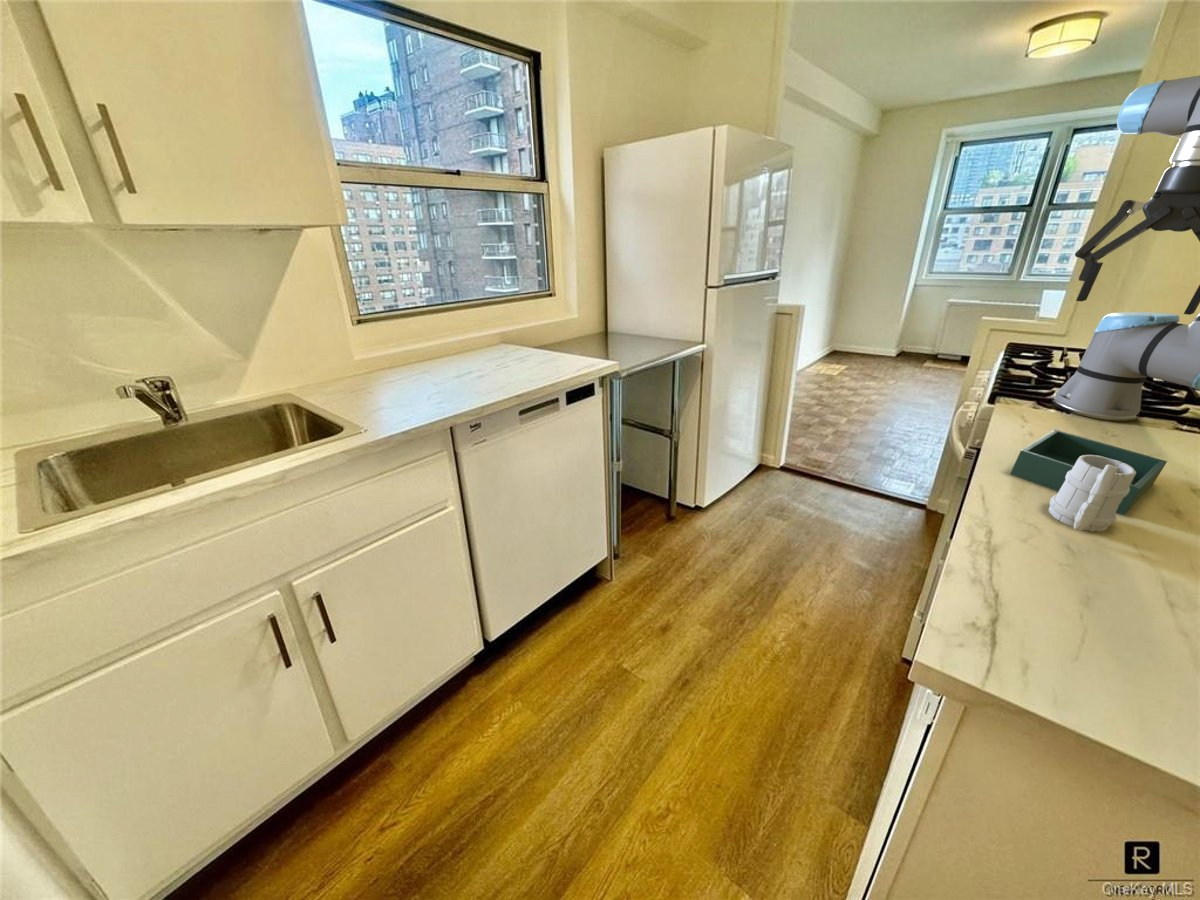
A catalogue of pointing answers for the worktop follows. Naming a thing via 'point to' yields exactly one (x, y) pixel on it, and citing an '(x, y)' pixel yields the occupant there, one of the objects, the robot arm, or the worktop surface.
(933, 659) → the worktop surface
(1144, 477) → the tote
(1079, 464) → the mug
